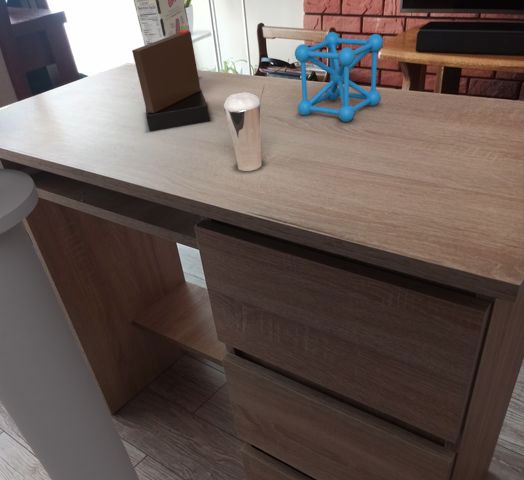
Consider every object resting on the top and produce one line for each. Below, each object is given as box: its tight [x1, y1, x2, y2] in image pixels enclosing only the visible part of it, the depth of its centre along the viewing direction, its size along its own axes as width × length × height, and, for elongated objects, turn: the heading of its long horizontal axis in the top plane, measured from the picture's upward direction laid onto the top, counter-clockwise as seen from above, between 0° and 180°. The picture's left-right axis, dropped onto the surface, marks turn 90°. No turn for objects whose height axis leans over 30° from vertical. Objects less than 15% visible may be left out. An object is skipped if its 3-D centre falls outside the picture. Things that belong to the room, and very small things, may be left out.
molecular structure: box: [294, 31, 384, 123], centre depth 80 cm, size 10×10×10 cm
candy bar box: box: [133, 0, 191, 46], centre depth 98 cm, size 11×5×16 cm, turn 164°
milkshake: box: [223, 84, 266, 172], centre depth 67 cm, size 4×5×10 cm
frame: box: [131, 29, 202, 113], centre depth 84 cm, size 12×2×9 cm, turn 146°
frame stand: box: [144, 88, 210, 132], centre depth 88 cm, size 10×10×2 cm
